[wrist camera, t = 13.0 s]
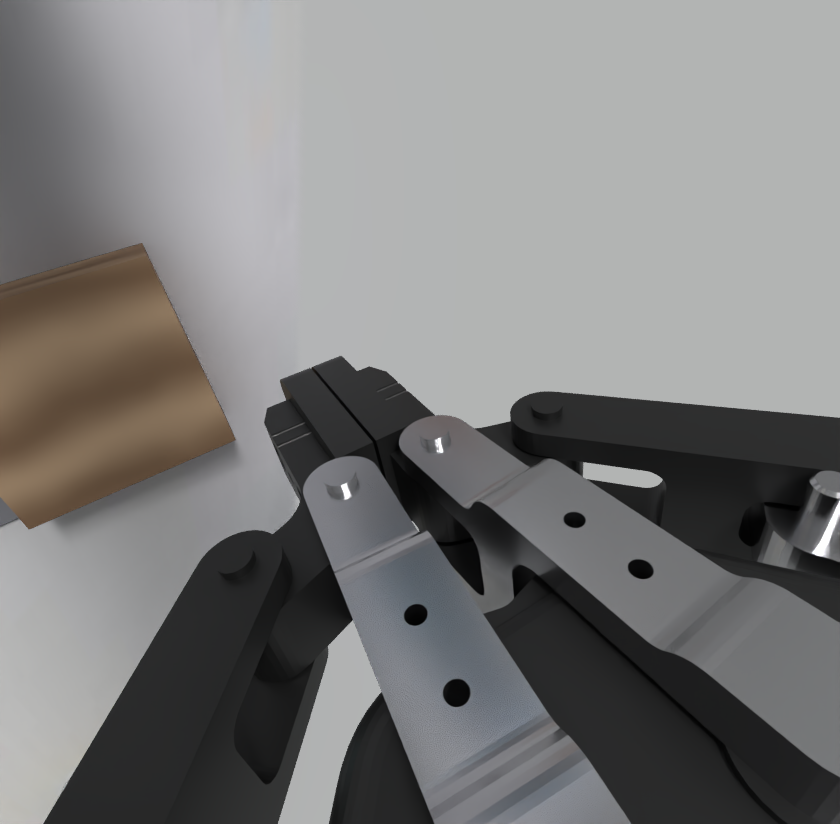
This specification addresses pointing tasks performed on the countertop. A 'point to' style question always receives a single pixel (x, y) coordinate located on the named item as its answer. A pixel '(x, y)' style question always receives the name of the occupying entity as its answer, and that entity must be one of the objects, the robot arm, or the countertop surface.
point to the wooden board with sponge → (96, 385)
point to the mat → (6, 513)
